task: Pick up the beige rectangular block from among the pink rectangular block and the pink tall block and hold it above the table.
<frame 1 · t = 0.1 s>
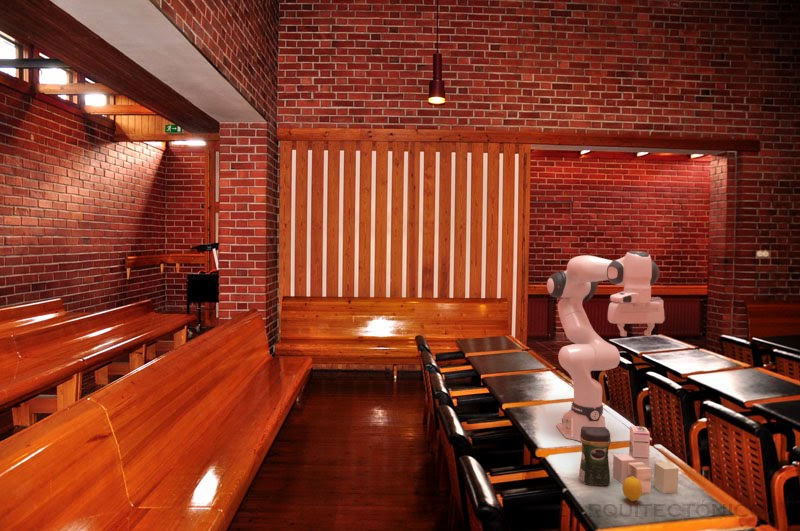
hand: (635, 335, 189), 48 cm above the table, tool pointing down, fingers open, 8 cm apart
pink tall block: (638, 489, 175), on the table
lemon: (631, 502, 167), on the table
pink rectangular block: (623, 480, 182), on the table
coffee jar: (593, 481, 181), on the table
beige rectangular block: (665, 489, 176), on the table
syrup box: (638, 468, 191), on the table
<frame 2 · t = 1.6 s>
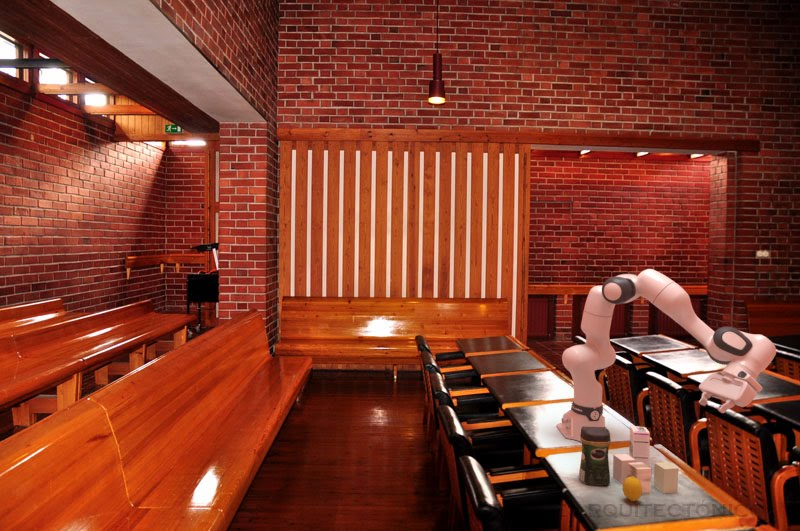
hand: (710, 407, 177), 27 cm above the table, tool tilted 45°, fingers open, 8 cm apart
nothing on the table moved.
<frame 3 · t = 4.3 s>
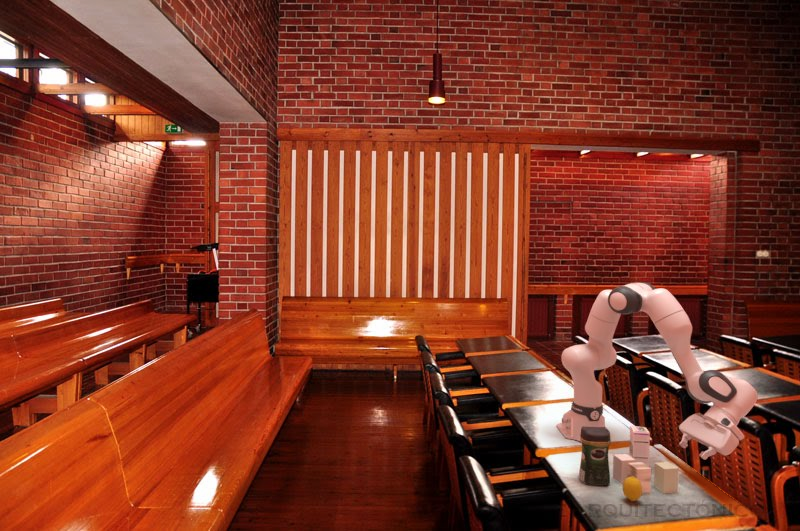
hand: (691, 451, 177), 12 cm above the table, tool tilted 45°, fingers open, 8 cm apart
nothing on the table moved.
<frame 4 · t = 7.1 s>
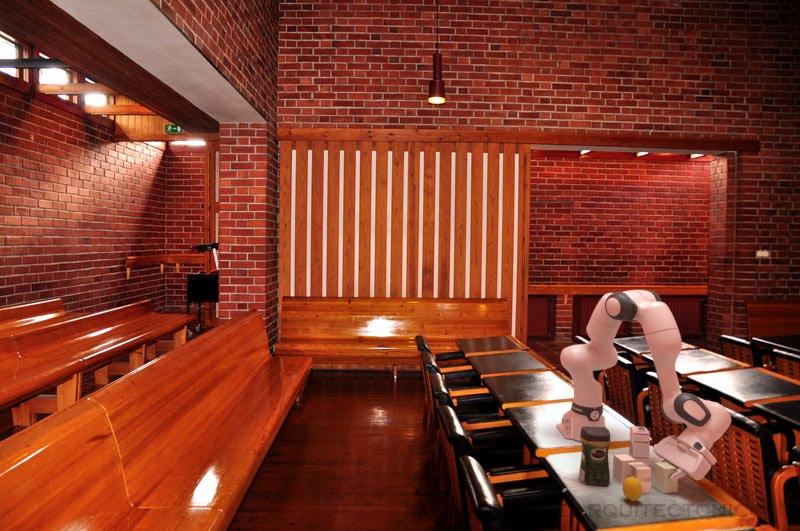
hand: (664, 475, 175), 5 cm above the table, tool tilted 45°, fingers closed on beige rectangular block, 5 cm apart
beige rectangular block: (665, 489, 176), on the table, touching gripper
everything else where it was.
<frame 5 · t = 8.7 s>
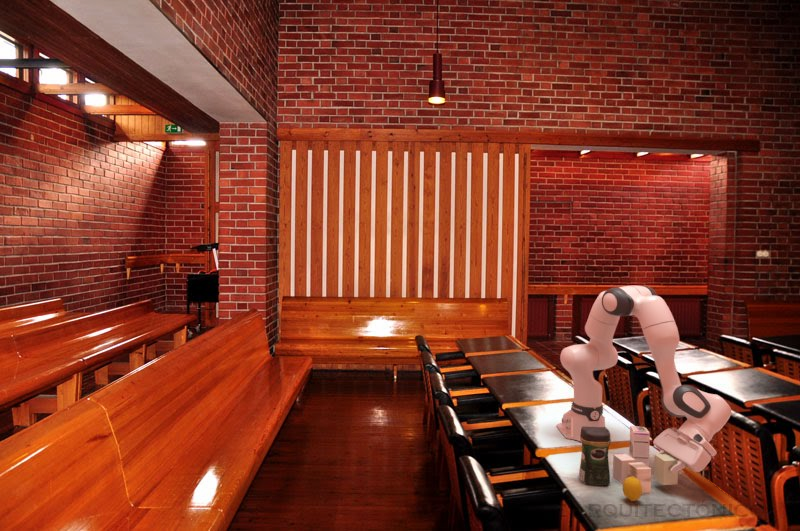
hand: (664, 467, 175), 7 cm above the table, tool tilted 45°, fingers closed on beige rectangular block, 5 cm apart
beige rectangular block: (665, 481, 176), point 3 cm above the table, touching gripper
everything else where it was.
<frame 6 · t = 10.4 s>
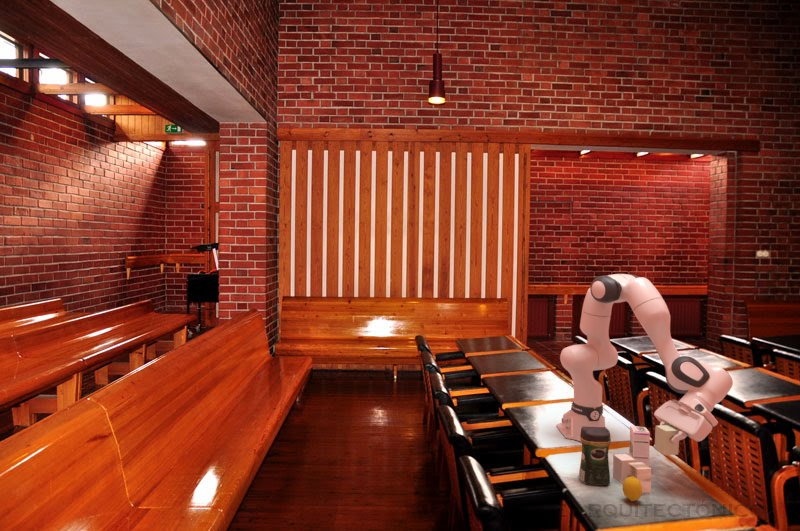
hand: (665, 438, 175), 17 cm above the table, tool tilted 45°, fingers closed on beige rectangular block, 5 cm apart
beige rectangular block: (666, 451, 175), point 12 cm above the table, touching gripper
everything else where it was.
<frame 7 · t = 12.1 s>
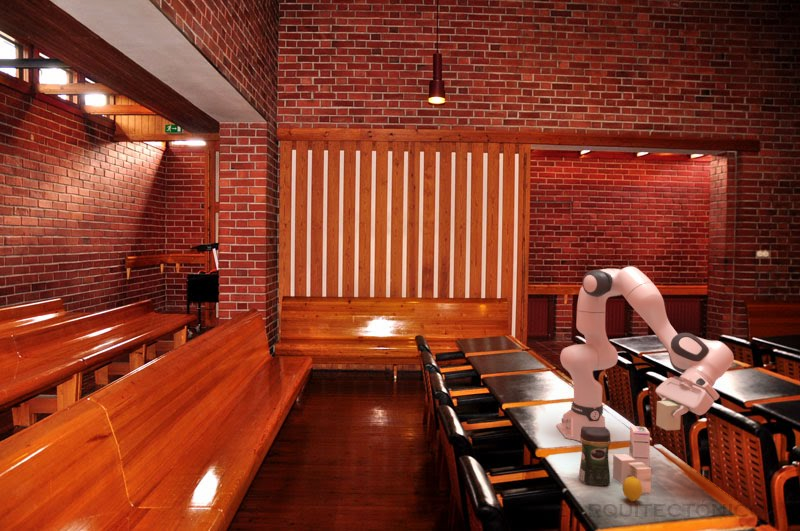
hand: (666, 413, 174), 25 cm above the table, tool tilted 45°, fingers closed on beige rectangular block, 5 cm apart
beige rectangular block: (667, 427, 175), point 21 cm above the table, touching gripper
everything else where it was.
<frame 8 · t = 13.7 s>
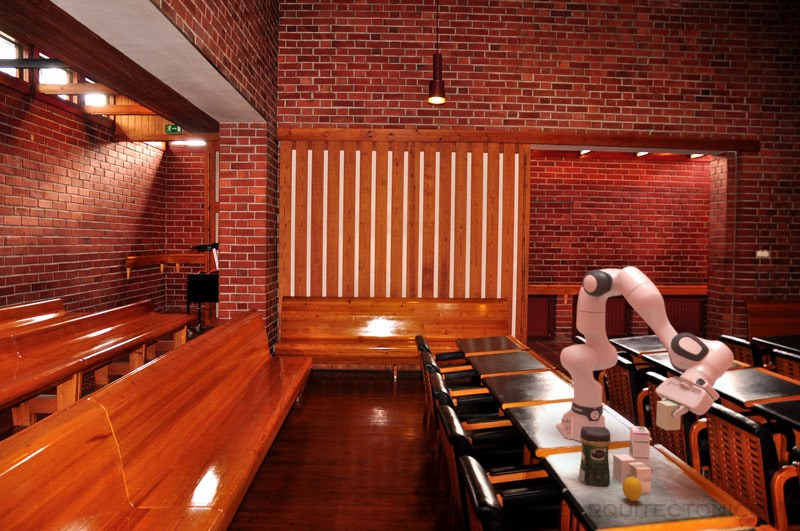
hand: (666, 413, 174), 25 cm above the table, tool tilted 45°, fingers closed on beige rectangular block, 5 cm apart
beige rectangular block: (668, 427, 175), point 21 cm above the table, touching gripper
everything else where it was.
at the end: the gripper is holding beige rectangular block; beige rectangular block point 20.7 cm above the table; pink tall block moved 0.1 cm from its start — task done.
